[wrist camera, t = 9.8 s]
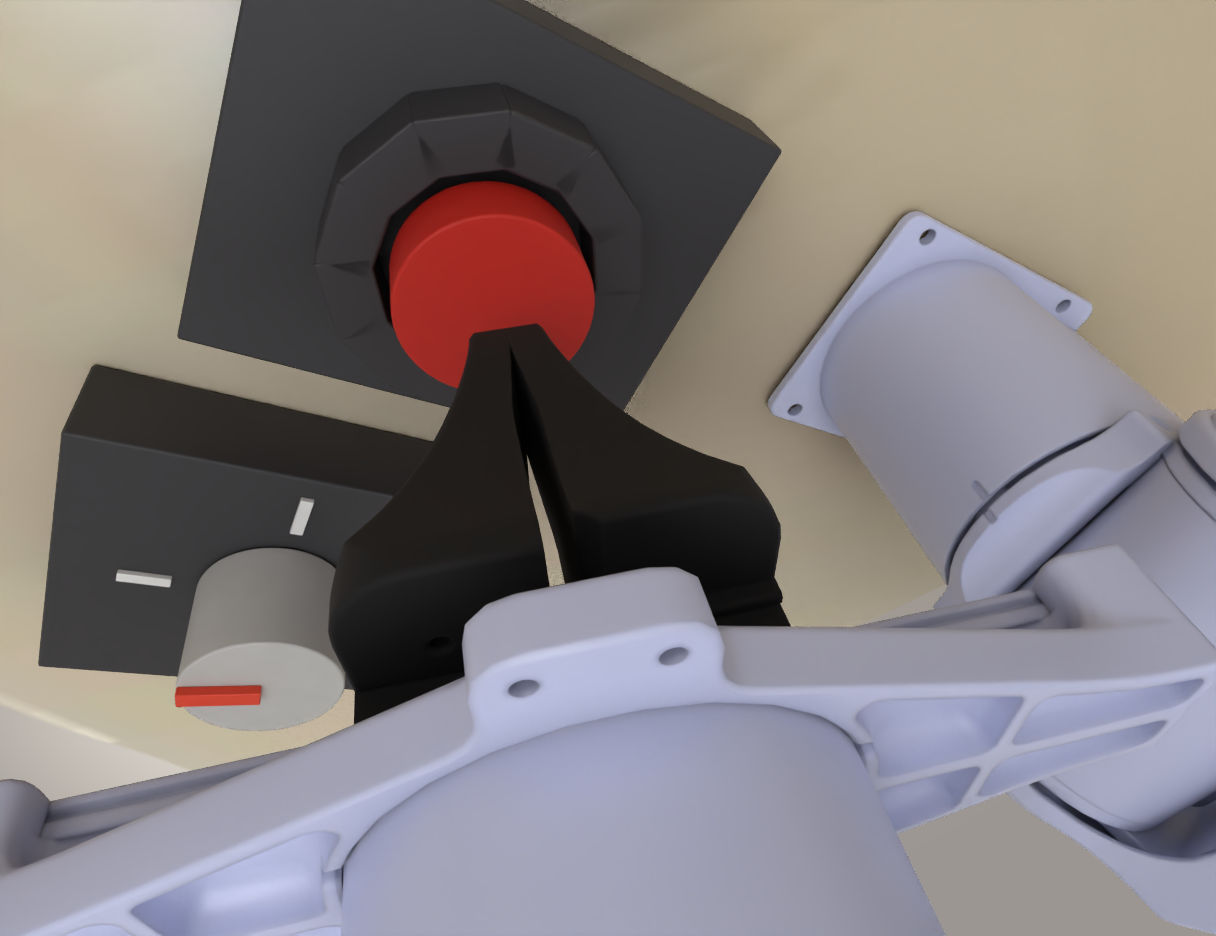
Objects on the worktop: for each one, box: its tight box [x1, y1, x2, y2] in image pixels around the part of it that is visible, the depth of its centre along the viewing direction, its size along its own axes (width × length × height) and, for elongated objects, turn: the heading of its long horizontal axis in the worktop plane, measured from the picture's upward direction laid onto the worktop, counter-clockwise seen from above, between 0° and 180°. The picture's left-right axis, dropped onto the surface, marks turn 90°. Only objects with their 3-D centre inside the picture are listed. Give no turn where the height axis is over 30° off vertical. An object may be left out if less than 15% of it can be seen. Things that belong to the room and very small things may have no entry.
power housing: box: [178, 0, 781, 410], centre depth 19 cm, size 12×10×4 cm
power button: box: [389, 181, 595, 388], centre depth 17 cm, size 4×4×2 cm
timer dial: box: [175, 548, 345, 731], centre depth 23 cm, size 4×4×4 cm
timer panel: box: [38, 365, 432, 690], centre depth 25 cm, size 12×10×3 cm
